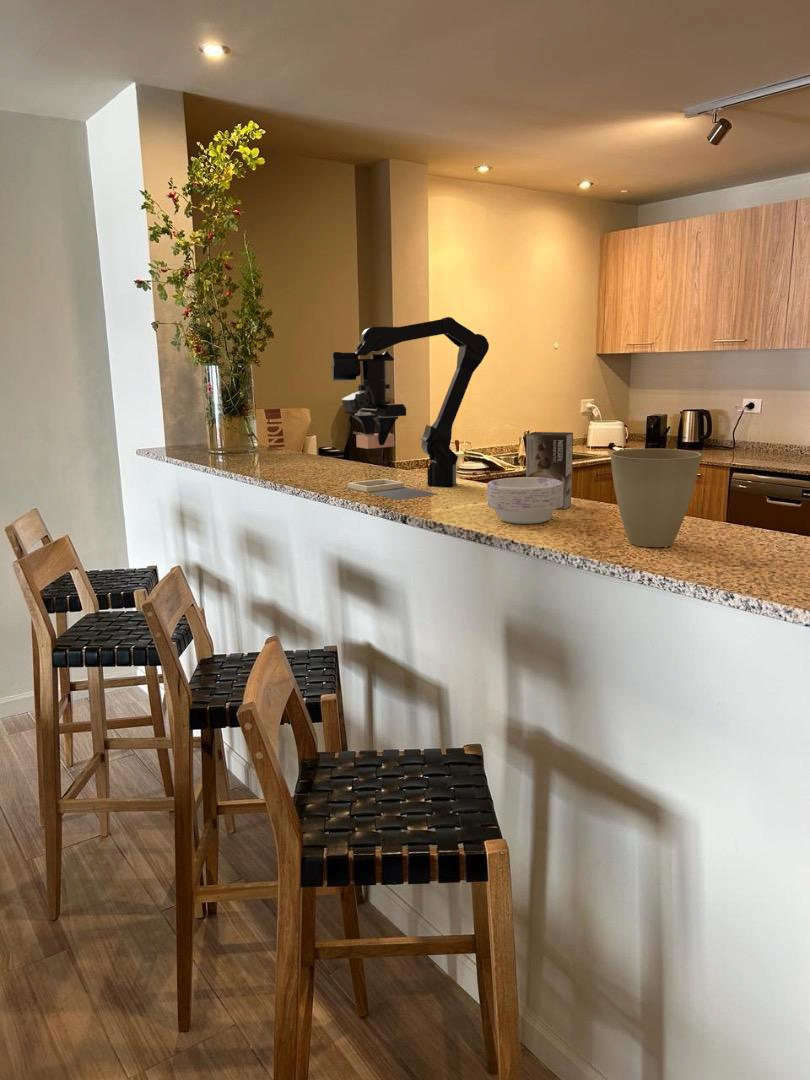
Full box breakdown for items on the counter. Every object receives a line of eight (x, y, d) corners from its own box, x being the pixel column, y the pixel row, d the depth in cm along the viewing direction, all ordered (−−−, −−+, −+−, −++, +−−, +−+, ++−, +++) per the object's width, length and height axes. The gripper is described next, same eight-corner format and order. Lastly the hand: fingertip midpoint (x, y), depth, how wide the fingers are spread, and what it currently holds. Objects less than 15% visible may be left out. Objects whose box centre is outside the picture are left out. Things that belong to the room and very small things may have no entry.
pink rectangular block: (368, 448, 189) (367, 436, 189) (356, 447, 193) (356, 434, 192) (394, 446, 194) (394, 434, 193) (382, 444, 198) (382, 432, 197)
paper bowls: (473, 516, 162) (474, 478, 160) (537, 510, 168) (538, 474, 166) (509, 530, 148) (510, 489, 146) (577, 523, 154) (579, 484, 152)
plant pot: (631, 530, 147) (636, 446, 143) (709, 542, 137) (716, 452, 133) (590, 544, 137) (594, 453, 133) (670, 558, 126) (677, 460, 123)
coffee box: (572, 504, 174) (574, 432, 170) (565, 509, 168) (567, 434, 164) (532, 502, 177) (534, 430, 174) (524, 506, 172) (525, 433, 168)
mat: (439, 496, 186) (439, 489, 185) (398, 502, 179) (398, 494, 178) (382, 484, 204) (381, 477, 204) (343, 489, 197) (342, 482, 197)
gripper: (325, 380, 192) (328, 443, 196) (368, 381, 178) (370, 449, 181) (363, 379, 199) (364, 440, 203) (407, 380, 184) (408, 446, 188)
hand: (375, 444), depth 193 cm, fingers closed on pink rectangular block, 5 cm apart
